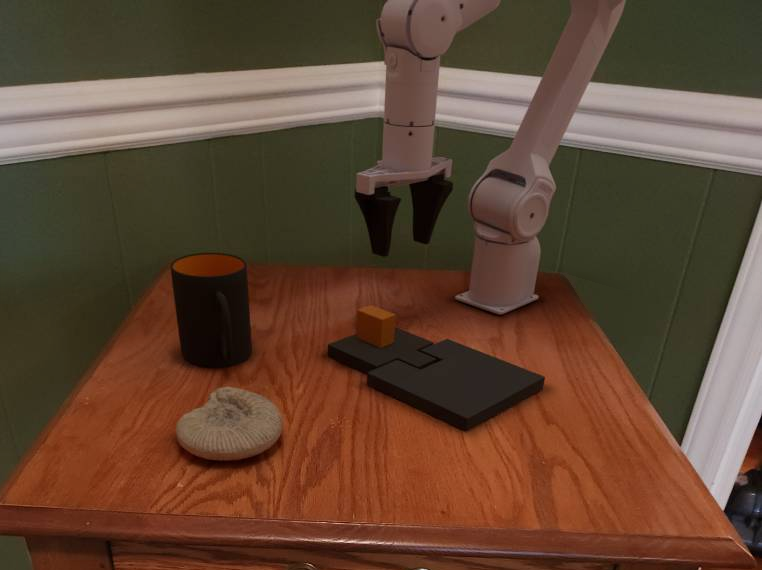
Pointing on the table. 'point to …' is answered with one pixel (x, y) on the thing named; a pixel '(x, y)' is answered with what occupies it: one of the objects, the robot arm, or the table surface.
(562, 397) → the table surface
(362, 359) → the black pad
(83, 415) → the table surface
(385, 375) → the charcoal mat
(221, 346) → the mug
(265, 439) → the fossil
